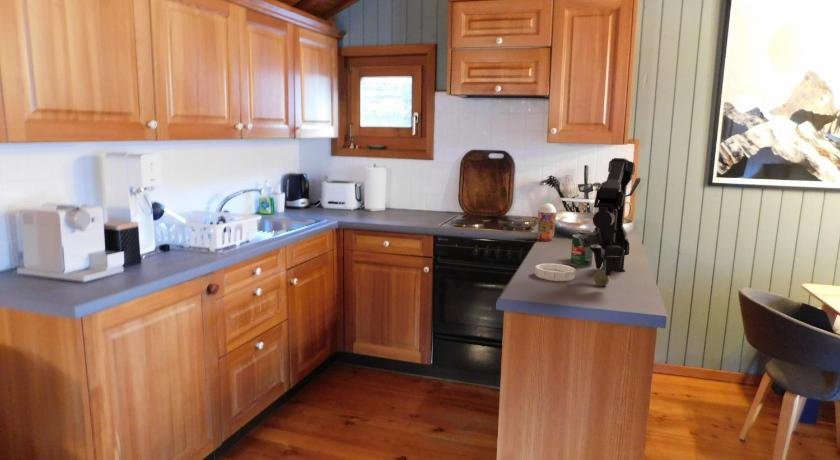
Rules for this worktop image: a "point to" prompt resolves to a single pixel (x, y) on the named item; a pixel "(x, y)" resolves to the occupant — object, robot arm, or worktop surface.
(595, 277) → the lime
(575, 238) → the canned tomato
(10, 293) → the worktop surface
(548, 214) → the smoothie
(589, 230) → the beverage can
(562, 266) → the ceramic dish
